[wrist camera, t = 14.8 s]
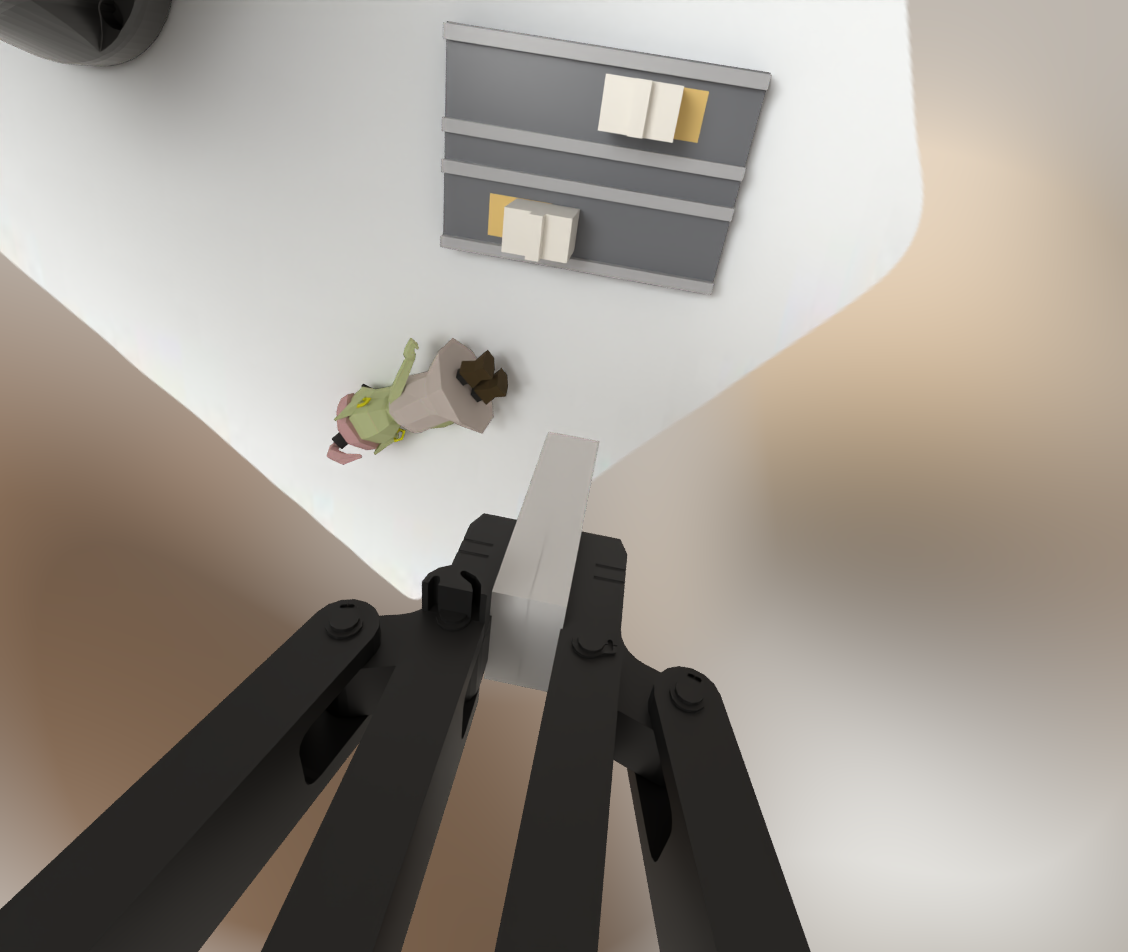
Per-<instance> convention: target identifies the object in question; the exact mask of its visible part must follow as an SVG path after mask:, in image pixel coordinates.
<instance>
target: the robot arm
mask: <svg viewBox="0 0 1128 952" xmlns="http://www.w3.org/2000/svg"><path fill="white" fill-rule="evenodd" d="M171 1H172V0H0V40H2V41H4V42H6V43H8V44H11V45H13V46H15V47H17V48H20V49H22V50H24V51H26V52H28V53H31V54H33V55H36V56H38V57H41V58H44V59H48V60H51V61H55V62H60V63H65V64H73V65H90V66H112V65H117V64H121V63H124V62H127V61H129V60H131V59H134V58H135V57H137V56H138V55H140V54H141V53H142V52H144V51H145V50H146V49H147V48H148V47H149V46H150V45H151V44H152V43H153V41H154V40H155V39H156V37H157V36H158V34H159V33H160V31H161V29H162V27H163V25H164V23H165V20H166V18H167V15H168V12H169V9H170V5H171ZM598 445H599V441H594V440H589V439H584V438H579V437H573V436H568V435H563V434H558V433H553V432H548V434H547V437H546V440H545V443H544V446H543V448H542V451H541V454H540V457H539V460H538V463H537V465H536V468H535V471H534V474H533V477H532V480H531V482H530V485H529V488H528V491H527V494H526V496H525V499H524V502H523V505H522V508H521V511H520V513H519V516H518V519H517V520H515V519H510V518H505V517H500V516H495V515H490V514H485V513H484V514H482V515H481V516H480V517H479V518H477V519H476V520H475V521H474V522H472V523H471V524H470V526H469V528H468V530H467V533H466V535H465V537H464V540H463V541H462V543H461V546H460V548H459V551H458V552H457V554H456V556H455V559H454V561H453V563H452V565H449V566H445V567H440V568H438V569H436V570H434V571H432V572H430V573H429V574H428V575H427V576H426V577H425V579H424V580H423V581H422V609H420V610H418V611H415V612H412V613H407V614H400V615H384V616H379V615H378V613H377V611H376V609H375V608H374V607H373V606H371V605H370V604H368V603H366V602H363V601H359V600H355V599H352V600H340V601H337V602H334V603H331V604H328V605H327V606H325V607H324V608H322V609H321V610H319V611H318V612H317V613H316V614H315V615H314V616H312V617H311V618H310V619H309V620H308V621H307V622H306V623H305V624H304V625H303V626H302V627H301V628H300V629H299V630H298V631H297V632H295V633H294V634H293V635H292V636H291V637H290V638H289V639H288V640H287V641H286V642H285V643H284V644H283V645H282V646H280V648H278V649H277V650H276V651H275V652H274V653H273V654H272V655H271V656H270V657H269V658H268V659H267V660H266V661H265V662H263V664H261V665H260V666H259V667H258V668H257V669H256V670H255V671H254V672H253V673H252V674H251V675H250V676H249V677H247V678H246V679H245V680H244V681H243V682H242V683H241V684H240V685H239V686H238V687H237V688H236V689H235V690H234V691H233V692H232V693H230V694H229V695H228V696H227V697H226V698H225V699H224V700H223V701H222V702H221V703H220V704H219V705H218V706H217V707H216V708H214V710H212V711H211V712H210V713H209V714H208V715H207V716H206V717H205V718H204V719H203V720H202V721H201V722H199V723H198V724H197V726H195V727H194V728H193V729H192V730H191V731H190V732H189V733H188V734H187V735H186V736H185V737H184V738H182V739H181V740H180V741H179V742H178V743H177V744H176V745H175V746H174V747H173V748H172V749H171V750H170V751H169V752H168V753H166V754H165V755H164V756H163V757H162V758H161V759H160V760H159V761H158V762H157V763H156V764H155V765H154V766H153V767H152V768H151V769H149V770H148V771H147V772H146V773H145V774H144V775H143V776H142V777H141V778H140V779H139V780H138V781H137V782H136V783H134V784H133V785H132V786H131V787H130V788H129V789H128V790H127V791H126V792H125V793H124V794H123V795H122V796H121V797H120V798H119V799H118V800H116V801H115V802H114V803H113V804H112V805H111V806H110V807H109V808H108V809H107V810H106V811H105V812H104V813H103V814H101V815H100V816H99V817H98V818H97V819H96V820H95V821H94V822H93V823H92V824H91V825H90V826H89V827H88V828H87V829H86V830H84V831H83V832H82V833H81V834H80V835H79V836H78V837H77V838H76V839H75V840H74V841H73V842H72V843H71V844H70V845H68V846H67V847H66V848H65V849H64V850H63V851H62V852H61V853H60V854H59V855H58V856H57V857H56V858H55V859H54V860H52V861H51V862H50V863H49V864H48V865H47V866H46V867H45V868H44V869H43V870H42V871H41V872H40V873H39V874H38V875H36V877H34V878H33V879H32V880H31V881H30V882H29V883H28V884H27V885H26V886H25V887H24V888H23V889H22V890H21V891H19V892H18V893H17V894H16V895H15V896H14V897H13V898H12V899H11V900H10V901H9V902H8V903H7V904H6V905H5V906H3V907H2V908H1V909H0V952H198V951H199V950H200V948H201V947H202V946H203V944H204V943H205V942H206V941H207V939H208V938H209V937H210V935H211V934H212V933H213V931H214V930H215V929H216V928H217V926H218V925H219V924H220V922H221V921H222V920H223V919H224V917H225V916H226V915H227V913H228V912H229V911H230V909H231V908H232V907H233V906H234V904H235V903H236V902H237V900H238V899H239V898H240V897H241V895H242V894H243V893H244V891H245V890H246V889H247V887H248V886H249V885H250V884H251V882H252V881H253V880H254V878H255V877H256V876H257V874H258V873H259V872H260V871H261V869H262V868H263V866H265V864H266V863H267V862H268V860H269V859H270V858H271V856H272V855H273V854H274V852H275V851H276V850H277V849H278V847H279V846H280V845H281V843H282V842H283V841H284V840H285V838H286V837H287V836H288V834H289V833H290V832H291V831H292V829H293V828H294V827H295V825H296V824H297V823H298V821H299V820H300V819H301V818H302V816H303V815H304V814H305V812H306V811H307V810H308V808H309V807H310V806H311V805H312V803H313V802H314V801H315V799H316V798H317V797H318V795H319V794H320V793H321V792H322V790H323V789H324V788H325V786H326V785H327V784H328V783H329V781H330V780H331V779H332V777H333V776H334V775H335V773H336V772H337V771H338V770H339V768H340V767H341V766H342V764H343V763H344V762H345V760H346V759H347V758H348V757H349V755H350V754H351V753H352V751H353V750H354V749H355V748H356V746H357V745H358V744H359V745H358V747H357V749H356V751H355V754H354V756H353V758H352V760H351V762H350V764H349V766H348V769H347V770H346V773H345V775H344V777H343V779H342V782H341V783H340V786H339V787H338V790H337V792H336V794H335V796H334V798H333V800H332V802H331V804H330V807H329V809H328V811H327V813H326V815H325V817H324V819H323V821H322V824H321V826H320V828H319V830H318V832H317V834H316V836H315V838H314V840H313V843H312V845H311V847H310V849H309V851H308V853H307V855H306V857H305V859H304V862H303V864H302V866H301V868H300V870H299V872H298V874H297V876H296V879H295V881H294V883H293V885H292V887H291V889H290V891H289V893H288V895H287V898H286V900H285V902H284V904H283V906H282V908H281V910H280V912H279V915H278V917H277V919H276V921H275V923H274V925H273V927H272V929H271V932H270V934H269V936H268V938H267V940H266V942H265V944H264V947H263V949H262V951H261V952H401V950H402V947H403V943H404V940H405V937H406V934H407V930H408V927H409V924H410V920H411V917H412V914H413V911H414V908H415V904H416V901H417V898H418V895H419V891H420V888H421V885H422V882H423V878H424V875H425V872H426V869H427V865H428V862H429V859H430V856H431V853H432V849H433V846H434V843H435V839H436V836H437V833H438V830H439V826H440V823H441V820H442V816H443V814H444V810H445V807H446V804H447V801H448V797H449V794H450V791H451V788H452V784H453V781H454V778H455V774H456V771H457V768H458V765H459V762H460V758H461V755H462V752H463V749H464V746H465V742H466V739H467V736H468V732H469V729H470V726H471V723H472V719H473V716H474V713H475V710H476V707H477V703H478V697H479V686H480V683H481V680H482V677H483V674H484V671H485V675H484V678H485V679H489V680H495V681H499V682H504V683H508V684H513V685H517V686H522V687H527V688H532V689H536V690H541V691H546V692H547V697H546V702H545V707H544V711H543V716H542V721H541V726H540V731H539V736H538V741H537V746H536V751H535V755H534V760H533V765H532V770H531V775H530V780H529V785H528V790H527V795H526V800H525V805H524V810H523V815H522V820H521V825H520V829H519V834H518V839H517V844H516V849H515V854H514V859H513V864H512V869H511V874H510V879H509V883H508V888H507V893H506V898H505V903H504V908H503V913H502V918H501V923H500V928H499V932H498V938H497V943H496V947H495V952H597V951H598V939H599V926H600V914H601V903H602V891H603V878H604V867H605V855H606V843H607V830H608V818H609V806H610V805H609V804H610V793H611V782H612V770H613V760H615V761H616V762H618V763H620V764H622V765H623V766H625V767H627V771H628V777H629V782H630V788H631V793H632V799H633V804H634V810H635V815H636V821H637V826H638V832H639V837H640V843H641V849H642V854H643V860H644V866H645V871H646V876H647V882H648V888H649V893H650V899H651V904H652V909H653V916H654V921H655V927H656V932H657V938H658V943H659V949H660V952H810V949H809V946H808V943H807V940H806V938H805V935H804V932H803V929H802V926H801V923H800V920H799V917H798V915H797V912H796V909H795V906H794V904H793V900H792V897H791V894H790V892H789V889H788V886H787V883H786V880H785V877H784V875H783V872H782V869H781V866H780V863H779V860H778V857H777V855H776V852H775V849H774V846H773V843H772V840H771V838H770V835H769V832H768V829H767V826H766V823H765V820H764V818H763V815H762V812H761V810H760V806H759V803H758V800H757V798H756V795H755V792H754V789H753V786H752V783H751V781H750V778H749V775H748V772H747V769H746V767H745V764H744V761H743V758H742V755H741V752H740V750H739V746H738V744H737V741H736V738H735V735H734V732H733V729H732V727H731V724H730V721H729V718H728V715H727V712H726V709H725V707H724V704H723V701H722V698H721V695H720V693H719V692H718V690H717V688H716V687H715V685H714V683H712V682H711V681H710V680H709V679H708V678H707V677H706V676H705V675H704V674H702V673H700V672H698V671H696V670H694V669H691V668H686V667H680V666H678V667H672V668H667V669H666V670H664V671H663V672H659V671H657V670H655V669H653V668H651V667H649V666H647V665H645V664H644V663H642V662H641V661H639V660H637V659H636V658H635V657H634V656H633V655H632V654H631V653H630V652H629V651H628V649H627V648H626V646H625V645H624V642H623V640H622V637H621V621H622V609H623V597H624V586H625V585H624V584H625V575H626V572H625V571H626V563H627V553H626V551H625V548H624V546H623V544H622V542H621V540H620V539H617V538H612V537H607V536H602V535H596V534H591V533H586V532H582V527H583V522H584V517H585V511H586V506H587V501H588V496H589V491H590V486H591V481H592V476H593V471H594V465H595V460H596V455H597V450H598ZM359 742H360V743H359Z"/></svg>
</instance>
